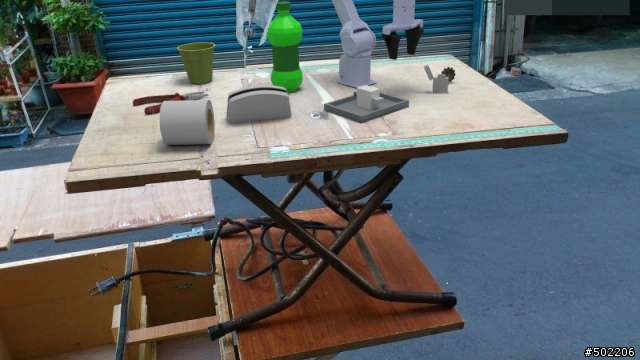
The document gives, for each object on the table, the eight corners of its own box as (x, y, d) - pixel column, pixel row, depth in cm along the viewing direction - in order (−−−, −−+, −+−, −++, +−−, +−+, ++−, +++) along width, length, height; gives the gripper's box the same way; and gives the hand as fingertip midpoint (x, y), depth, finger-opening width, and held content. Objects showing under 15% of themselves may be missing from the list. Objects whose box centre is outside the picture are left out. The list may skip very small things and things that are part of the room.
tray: (324, 110, 143) (323, 103, 142) (370, 95, 153) (371, 89, 153) (361, 123, 133) (361, 116, 132) (408, 106, 144) (409, 100, 143)
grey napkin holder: (288, 110, 144) (289, 79, 136) (292, 121, 140) (292, 90, 133) (225, 116, 140) (223, 85, 133) (227, 128, 137) (225, 96, 130)
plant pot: (205, 74, 178) (201, 40, 173) (226, 80, 171) (223, 45, 166) (174, 82, 171) (169, 46, 166) (195, 89, 163) (190, 52, 158)
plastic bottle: (304, 84, 165) (301, -1, 154) (304, 94, 156) (300, 4, 145) (271, 85, 165) (266, 0, 154) (269, 95, 156) (263, 5, 145)
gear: (453, 82, 164) (455, 65, 161) (455, 82, 163) (456, 66, 161) (439, 83, 162) (440, 67, 160) (440, 84, 161) (441, 68, 159)
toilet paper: (164, 151, 120) (156, 109, 116) (174, 135, 129) (168, 95, 125) (208, 150, 120) (203, 108, 116) (216, 134, 129) (211, 94, 125)
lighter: (446, 91, 155) (449, 64, 152) (447, 93, 154) (449, 65, 150) (421, 91, 156) (423, 64, 152) (422, 93, 154) (424, 65, 151)
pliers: (215, 102, 153) (214, 93, 152) (146, 117, 142) (145, 108, 141) (198, 93, 161) (197, 84, 160) (132, 107, 151) (130, 98, 150)
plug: (350, 104, 145) (350, 86, 143) (359, 101, 147) (359, 83, 145) (375, 112, 139) (376, 93, 136) (385, 109, 141) (385, 90, 138)
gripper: (397, 11, 138) (395, 63, 144) (432, 4, 146) (429, 54, 152) (377, 8, 142) (376, 59, 148) (412, 2, 151) (410, 50, 157)
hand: (402, 56), depth 151 cm, fingers open, 7 cm apart
